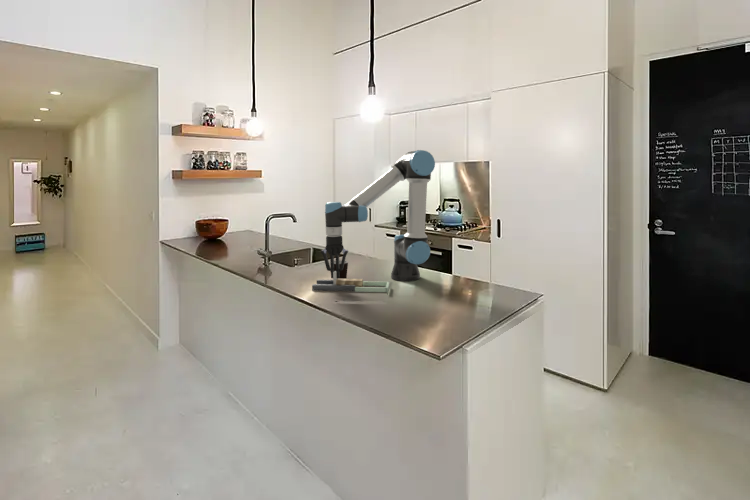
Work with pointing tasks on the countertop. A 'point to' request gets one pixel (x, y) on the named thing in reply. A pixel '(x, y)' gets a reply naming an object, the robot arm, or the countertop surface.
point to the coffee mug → (344, 272)
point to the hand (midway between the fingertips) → (335, 285)
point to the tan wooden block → (349, 281)
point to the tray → (373, 289)
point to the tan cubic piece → (340, 281)
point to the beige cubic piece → (358, 282)
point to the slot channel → (331, 286)
